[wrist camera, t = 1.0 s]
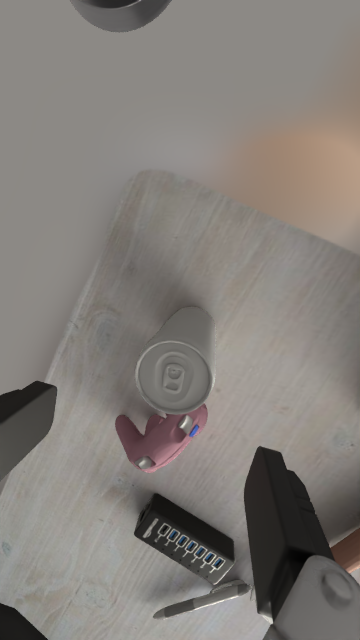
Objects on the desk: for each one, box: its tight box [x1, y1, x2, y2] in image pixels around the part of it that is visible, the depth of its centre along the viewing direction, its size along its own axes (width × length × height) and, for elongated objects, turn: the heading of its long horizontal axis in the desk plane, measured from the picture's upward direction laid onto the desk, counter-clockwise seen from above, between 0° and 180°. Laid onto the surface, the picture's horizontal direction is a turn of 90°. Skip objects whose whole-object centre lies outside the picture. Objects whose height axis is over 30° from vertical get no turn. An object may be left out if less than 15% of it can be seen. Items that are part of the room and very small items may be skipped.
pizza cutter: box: [250, 528, 360, 624], centre depth 29 cm, size 20×6×3 cm, turn 138°
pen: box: [153, 580, 251, 619], centre depth 33 cm, size 1×14×1 cm, turn 122°
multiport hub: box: [134, 494, 235, 584], centre depth 31 cm, size 4×11×2 cm, turn 59°
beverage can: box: [135, 307, 216, 415], centre depth 21 cm, size 5×5×12 cm
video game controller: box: [115, 404, 208, 473], centre depth 26 cm, size 10×5×7 cm, turn 138°
